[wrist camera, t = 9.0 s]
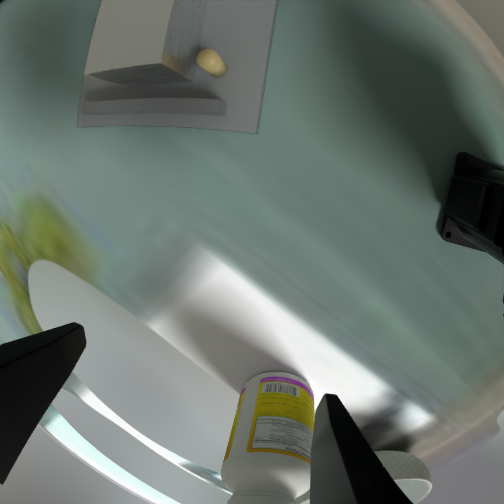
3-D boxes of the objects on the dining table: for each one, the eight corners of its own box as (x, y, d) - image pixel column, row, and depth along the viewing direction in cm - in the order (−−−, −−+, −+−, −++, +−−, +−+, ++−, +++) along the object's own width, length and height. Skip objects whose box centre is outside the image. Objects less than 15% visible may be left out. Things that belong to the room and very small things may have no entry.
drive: (216, -33, 12) (195, -70, 8) (194, 82, 16) (160, 63, 11) (153, -24, 13) (122, -52, 8) (128, 86, 16) (84, 74, 12)
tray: (286, -50, 12) (283, -75, 9) (257, 134, 17) (249, 130, 14) (123, -33, 13) (103, -49, 10) (84, 127, 19) (55, 127, 15)
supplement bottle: (269, 421, 26) (250, 532, 14) (227, 384, 25) (188, 505, 13) (327, 399, 24) (329, 523, 12) (288, 356, 23) (273, 500, 11)
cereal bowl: (409, 411, 23) (423, 463, 17) (429, 461, 27) (438, 498, 20) (271, 457, 29) (264, 504, 22) (325, 495, 32) (324, 531, 25)
